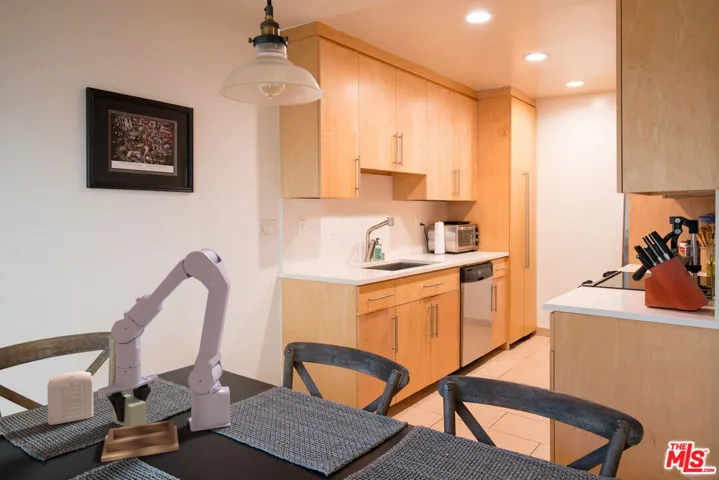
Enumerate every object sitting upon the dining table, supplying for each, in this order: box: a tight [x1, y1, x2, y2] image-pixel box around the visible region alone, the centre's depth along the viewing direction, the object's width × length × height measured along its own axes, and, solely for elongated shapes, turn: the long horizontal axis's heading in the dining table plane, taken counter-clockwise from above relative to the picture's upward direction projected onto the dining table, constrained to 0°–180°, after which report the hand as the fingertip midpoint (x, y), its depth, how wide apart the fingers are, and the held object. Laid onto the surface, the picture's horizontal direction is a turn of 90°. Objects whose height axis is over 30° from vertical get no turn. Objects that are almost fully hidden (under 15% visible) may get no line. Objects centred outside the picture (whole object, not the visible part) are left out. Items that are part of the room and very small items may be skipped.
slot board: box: [100, 419, 180, 463], centre depth 118 cm, size 16×12×3 cm
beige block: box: [112, 394, 148, 427], centre depth 129 cm, size 4×9×6 cm, turn 52°
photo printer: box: [47, 370, 94, 426], centre depth 131 cm, size 10×4×12 cm, turn 123°
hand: (129, 418), depth 129 cm, fingers closed on beige block, 4 cm apart
